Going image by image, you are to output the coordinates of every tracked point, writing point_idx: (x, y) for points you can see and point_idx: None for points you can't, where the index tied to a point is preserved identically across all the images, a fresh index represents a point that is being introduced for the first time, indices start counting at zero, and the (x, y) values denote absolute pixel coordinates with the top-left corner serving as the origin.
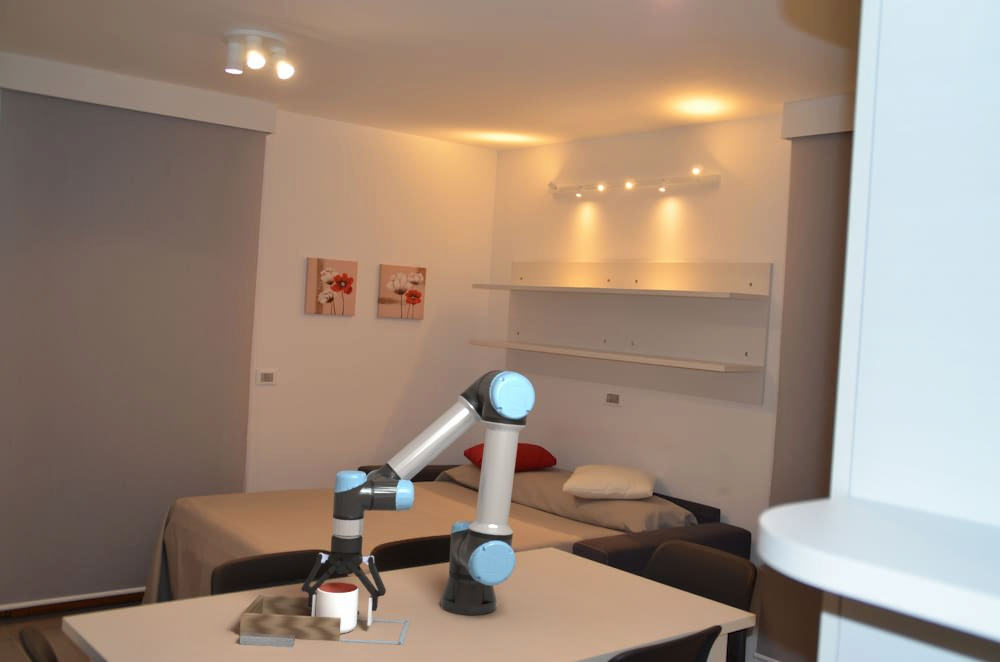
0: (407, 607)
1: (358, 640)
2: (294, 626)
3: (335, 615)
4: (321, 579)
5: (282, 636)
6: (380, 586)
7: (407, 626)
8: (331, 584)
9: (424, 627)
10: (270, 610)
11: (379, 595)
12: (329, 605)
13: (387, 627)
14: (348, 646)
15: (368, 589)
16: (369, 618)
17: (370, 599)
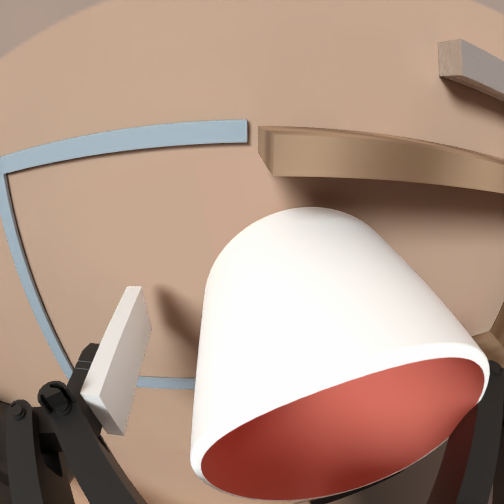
0: (130, 447)
1: (153, 137)
2: (483, 156)
3: (321, 241)
4: (490, 453)
5: (494, 71)
6: (13, 453)
7: (46, 338)
8: (376, 472)
9: (15, 338)
10: (485, 345)
11: (45, 411)
12: (394, 276)
13: (101, 333)
14: (191, 58)
15: (93, 454)
16: (124, 307)
17: (91, 389)
